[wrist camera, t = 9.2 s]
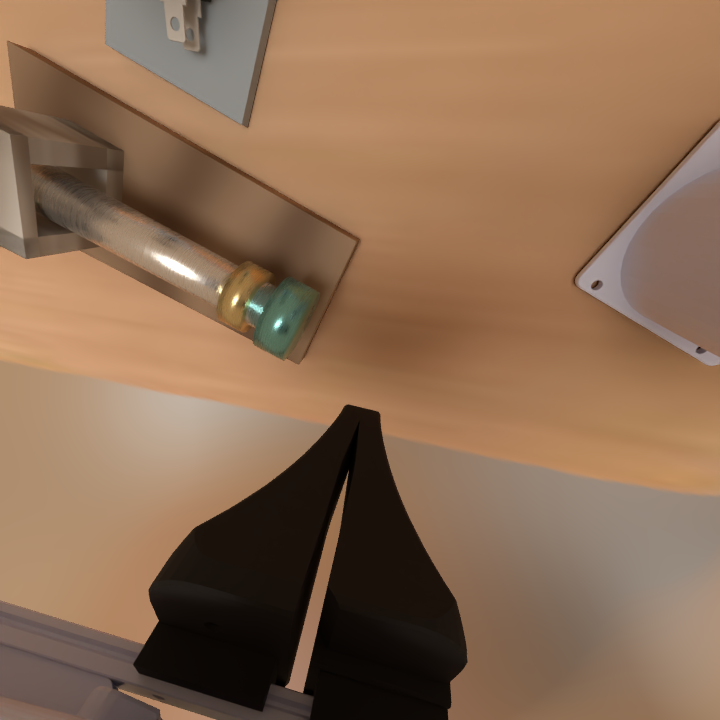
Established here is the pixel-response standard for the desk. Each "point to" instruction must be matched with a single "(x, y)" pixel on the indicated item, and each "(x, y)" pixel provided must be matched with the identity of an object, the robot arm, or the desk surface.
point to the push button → (184, 21)
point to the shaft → (180, 261)
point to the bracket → (152, 189)
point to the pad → (217, 48)
